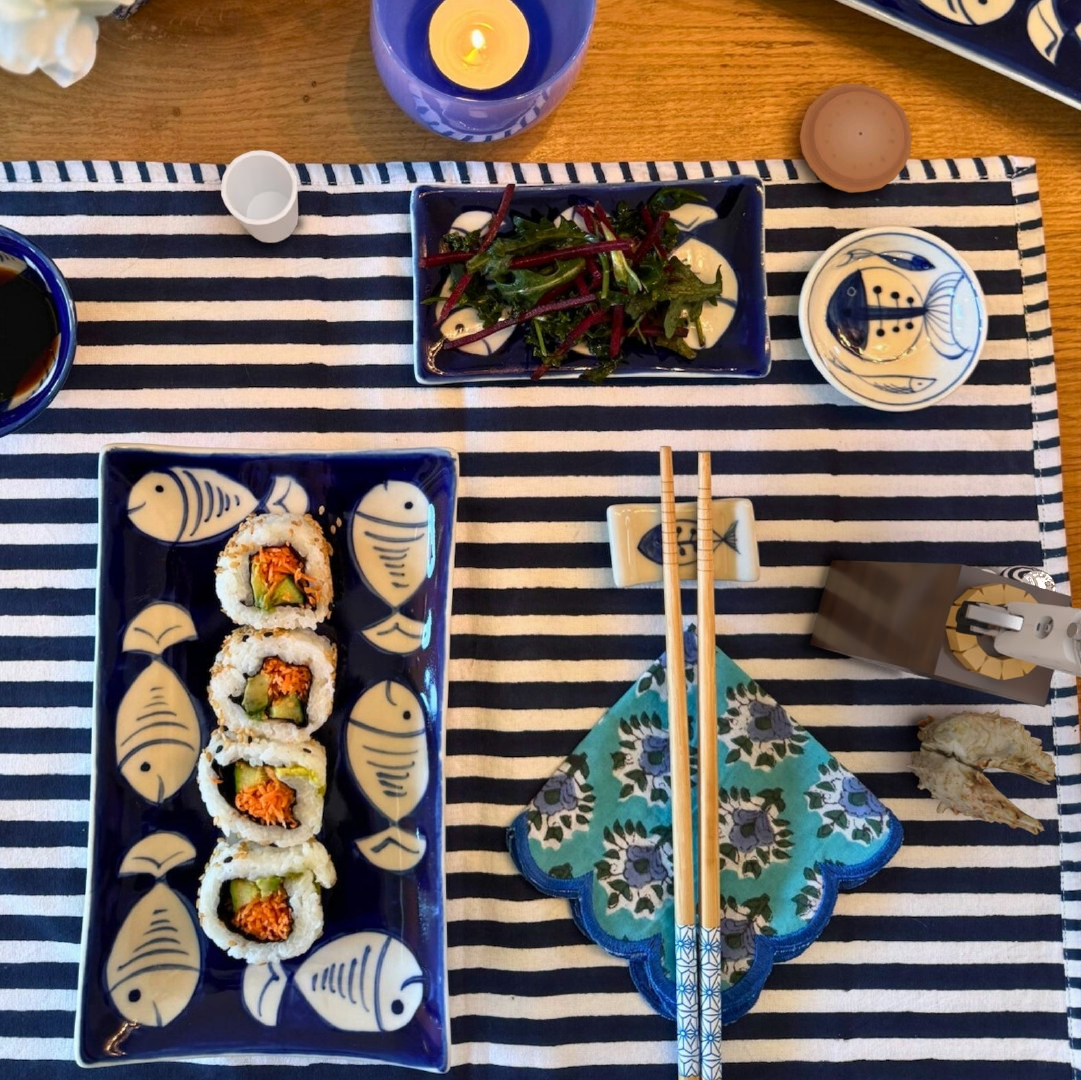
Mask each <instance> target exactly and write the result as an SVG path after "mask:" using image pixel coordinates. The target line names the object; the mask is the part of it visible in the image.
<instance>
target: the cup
mask: <svg viewBox="0 0 1081 1080" xmlns="http://www.w3.org/2000/svg"><path fill="white" fill-rule="evenodd" d="M220 192H221V193H220V195H221V198H222V200H223V201H222V202H223V203H224V205H225V207H226V208H227V210H228V211H229V212H230V214H231V215H232V216H233V217H234V218H235V219H236V220H237V221H238V223H239V224H241V225H242V227H243V228H244V229H245V230H246V231H247V232H248V233H249V234H250V235H251V236H252V237H253V238H254V239H256V240H257V241H260V242H261V243H268V244H269V243H270V244H271V243H272V244H277V243H280V242H282V241H284V240H286V239H287V238H289V237H290V236H291V235H292V234H293V233H294V231H295V230H296V227H297V225H298V221H299V198H298V195H299V194H298V178H297V176H296V174H295V171H294V169H293V168H292V166H291V165H290V163H289V162H288V161H287V160H286V159H284V157H282V156H280V155H279V154H276V153H275V152H273V151H271V150H270V151H268V150H263V149H261V150H260V149H259V150H250V151H248V152H245V153H242V154H240V155H238V156H236V157H235V158H234V159H233V160H232V161H231V162H230V164H229V165H227V167H226V169H225V171H224V173H223V175H222V179H221V183H220Z"/></svg>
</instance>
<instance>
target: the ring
mask: <svg viewBox="0 0 1081 1080" xmlns="http://www.w3.org/2000/svg"><path fill="white" fill-rule="evenodd" d="M1025 592H1026V591H1024V590H1021V589H1018V588H1016V587H1013V586H1010V585H1007V584H994V583H991V584H986V585H981V586H976V587H972V589H968V590H967V591H966V592H965V593H964V594H963V595H962V596H960V597H959V598H958V599H957V600H956V601H955V602H954V603H955V605H956V606H951V609H950V613H949V616H948V619H947V623H946V626H949V627H952V628H948V629H946V632H947V637H948V641H949V645H950V649H951V650H955V651H954V652H953V654H954V655H955V657H956V658H957V659H958V660H959V661H960V662H961V663H962V664H963V665H964V667H965V668H967V669H970V671H972V672H974V673H977V674H980V675H983V676H986V677H989V678H994V679H998V680H999V679H1001V680H1006V679H1011V678H1016V677H1021V676H1024V675H1023V673H1024V674H1028V673H1029V672H1030V671H1031V670H1032V669H1033V668H1034V667H1035V666H1036V664H1033V663H1029V662H1026V661H1023V660H1019V659H1016V658H1013V657H1010V656H1007V655H1006V656H1001V657H996V658H994V657H991V656H988V655H987V654H986V653H985V652H984V651H983V650H982V648H981V647H980V646H979V645H978V643H977V639H976V636H974V635H967V634H961V633H958V632H956V625H957V623H956V621H955V617H956V613H957V610H958V609H959V608H960V607H961V606H962V603H963V601H976V602H985V603H989V604H990V605H993V606H994V605H1002V606H1005V605H1006V604H1008V603H1010V602H1027V603H1037V604H1038V602H1037V601H1036V600H1035V599H1034V598H1033V597H1032V596H1031V595H1030V594H1029V593H1025ZM1015 616H1016V615H1015Z"/></svg>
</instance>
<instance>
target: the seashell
mask: <svg viewBox="0 0 1081 1080" xmlns="http://www.w3.org/2000/svg"><path fill="white" fill-rule="evenodd" d="M917 725H918V729H919V730H918V733H917V734H916V735H917V738H918V740H919V741H921V744H920V749H919V750H920V751H911V753H910V761H911V763H908V764H906V767H907V768H911V769H913V771H912V773H913V774H914V775H915V776H916V777H918V778H919V781H918V782H919V783H918V784H917V786H916V787H917V788H918V789H919V790H921V791H922V790H924V789H927V790H928V791H929V792H930V793H931V794H930V795H931V798H933V799H935V800H937V804H938V805H937V808H936V813H937V814H939V815H941V814H944V813H945V811H946V809H948V810H951V811H952V812H953V815H954V816H955V817H957V816H958V815H959V814H961V815H963V816H965V817H971V818H972V819H974V820H976V819H978V820H982V821H983V822H989V823H991V824H992V823H994V822H996V823H998V824H1000V825H1002V823H1003V824H1004V823H1005V824H1007V825H1008V826H1009V827H1010V828H1012V829H1014V830H1015V829H1018V828H1021V829H1023V830H1025V831H1027V832H1030V833H1032V834H1033V835H1036V836H1037V835H1038V834H1040V833H1041V832H1043V831H1044V832H1045V831H1046V830H1045V829H1044V825H1042V822H1040V821H1039V819H1037V818H1035V817H1033V816H1031V815H1029V814H1028V813H1025V812H1024V811H1023V810H1022V809H1020V808H1019V807H1018V806H1017V805H1016V804H1014V802H1012V801H1011V800H1010V799H1009V798H1007V796H1005V795H1004V794H1003V793H1002V792H1001V791H1000V790H998V789H997V788H996V787H995V786H994V785H993V783H992V782H991V781H990V779H989V778H988V777H986V775H985V774H984V771H985V770H986V769H997V770H1001V771H1004V772H1008V773H1014V774H1017V775H1020V776H1024V777H1026V778H1027V779H1029V780H1032V781H1034V782H1036V783H1040V784H1043V785H1049V786H1050V785H1051V783H1050V782H1051V781H1053V780H1057V778H1056V777H1055V773H1056V766H1057V764H1056V763H1055V762H1054V761H1053V757H1052V755H1051V754H1050V753H1047V752H1045V751H1042V750H1043V746H1042V744H1043V741H1042V739H1040V738H1038V737H1034V736H1031V732H1030V731H1029V730H1027V729H1025V726H1024V725H1023V724H1022V723H1021V722H1020V721H1019V720H1017V719H1016V718H1014V717H1011V716H1002V715H1001V712H1000V709H999V708H998V709H996V710H994V711H993V712H990V711H988V710H987V711H986V712H984V713H981V712H977V711H970V710H968V709H964V710H963V711H962V712H953V711H952V712H951V713H950V714H948V715H946V716H944V717H938V716H936V715H933V714H931V715H930V714H927V715H926V718H925V719H921V720H918V722H917ZM1048 781H1049V782H1048Z"/></svg>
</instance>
